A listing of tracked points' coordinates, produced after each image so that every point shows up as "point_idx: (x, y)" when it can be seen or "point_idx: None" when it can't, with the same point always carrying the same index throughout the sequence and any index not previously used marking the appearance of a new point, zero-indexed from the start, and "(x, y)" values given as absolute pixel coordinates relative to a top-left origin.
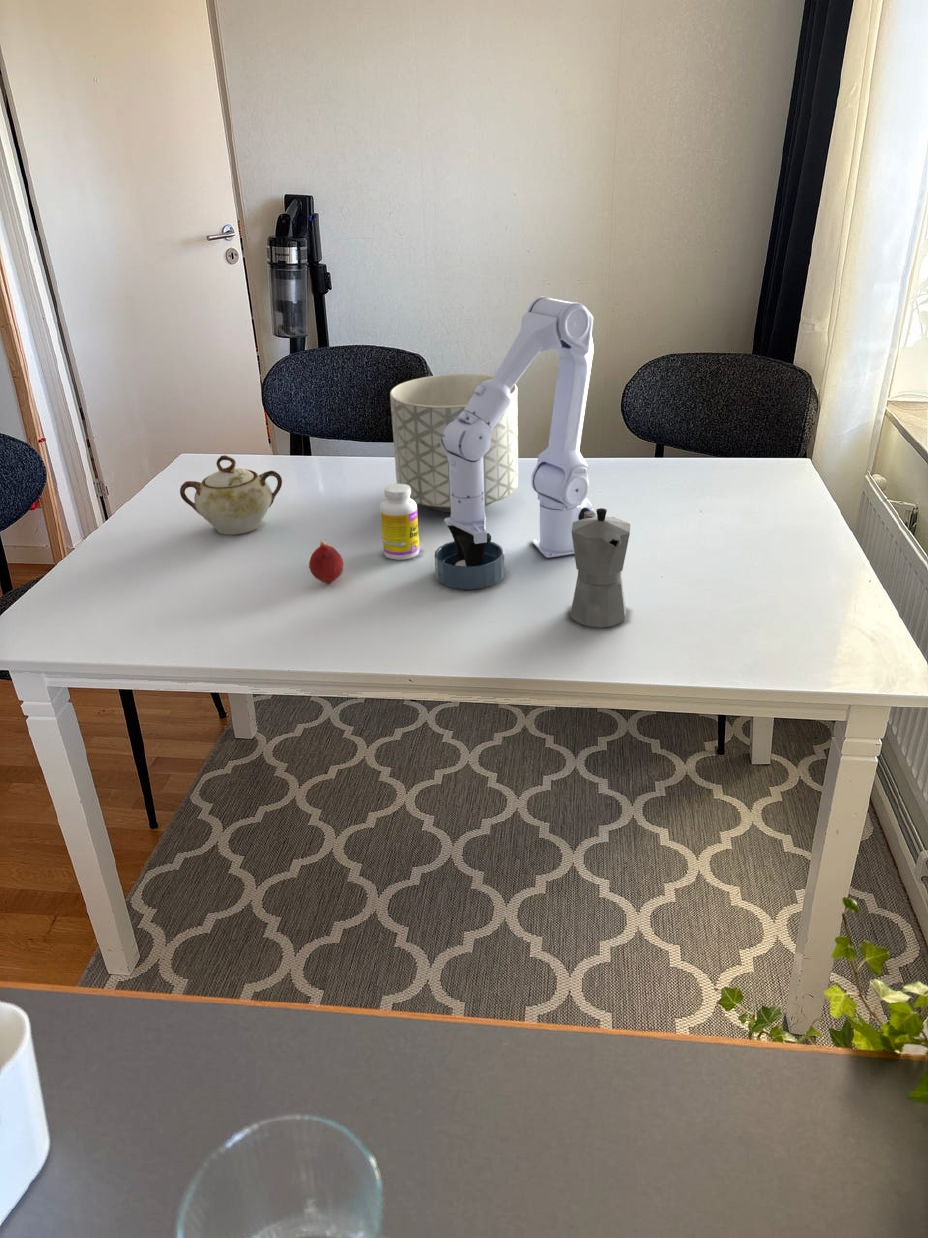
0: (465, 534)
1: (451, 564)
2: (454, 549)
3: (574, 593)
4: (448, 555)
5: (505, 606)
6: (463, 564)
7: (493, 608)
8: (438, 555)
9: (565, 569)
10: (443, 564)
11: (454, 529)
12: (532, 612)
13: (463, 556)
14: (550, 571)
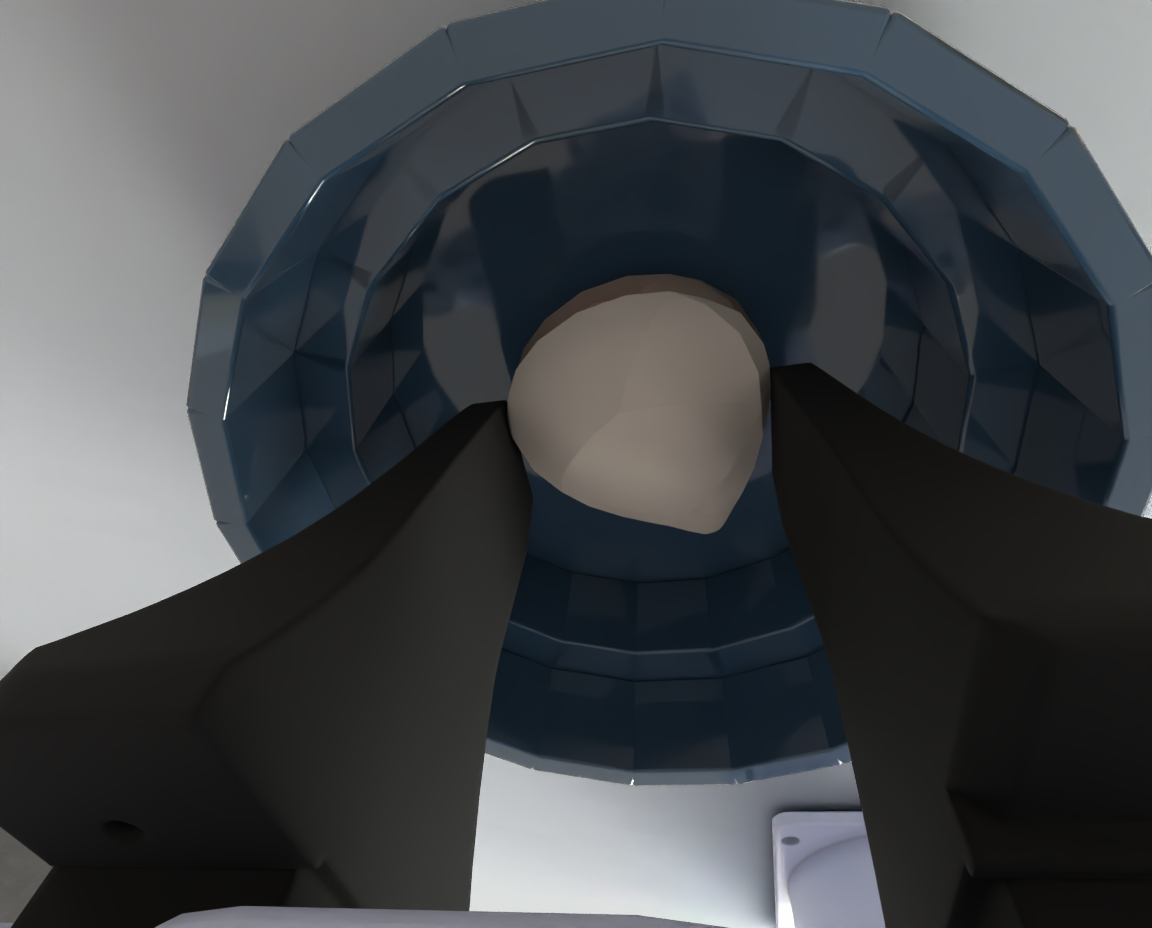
0: (288, 849)
1: (905, 245)
2: (1056, 361)
3: (30, 869)
4: (985, 249)
5: (123, 523)
6: (576, 398)
7: (72, 453)
8: (857, 80)
9: (612, 828)
10: (291, 135)
11: (949, 677)
12: (83, 626)
13: (785, 432)
14: (604, 783)
